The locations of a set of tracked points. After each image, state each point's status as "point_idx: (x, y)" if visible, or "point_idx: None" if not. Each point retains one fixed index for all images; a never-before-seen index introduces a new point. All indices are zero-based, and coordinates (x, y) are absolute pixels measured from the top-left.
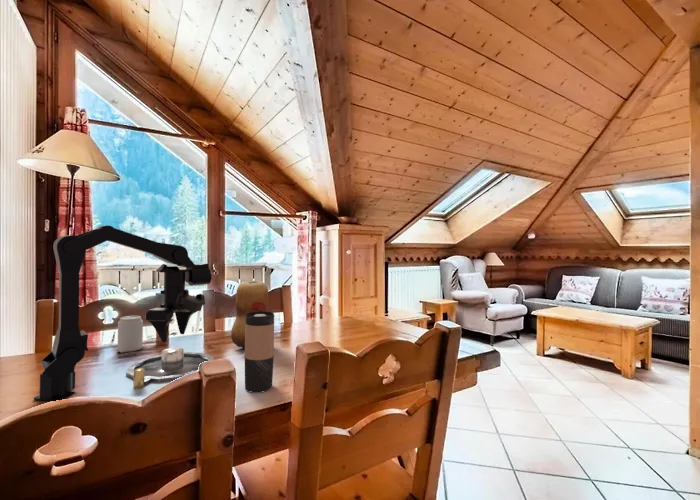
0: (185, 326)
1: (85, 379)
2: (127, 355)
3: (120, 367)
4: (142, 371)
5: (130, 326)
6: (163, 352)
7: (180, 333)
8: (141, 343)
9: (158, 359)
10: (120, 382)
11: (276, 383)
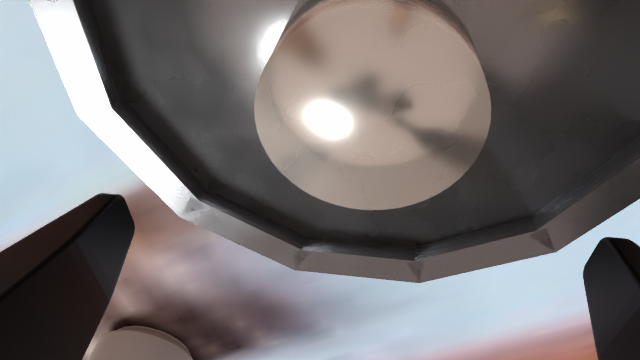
0: (18, 276)
1: (527, 345)
2: (207, 335)
3: (365, 303)
4: None
5: None
6: (440, 179)
7: (132, 234)
8: (112, 352)
9: (242, 206)
10: (611, 221)
11: None
